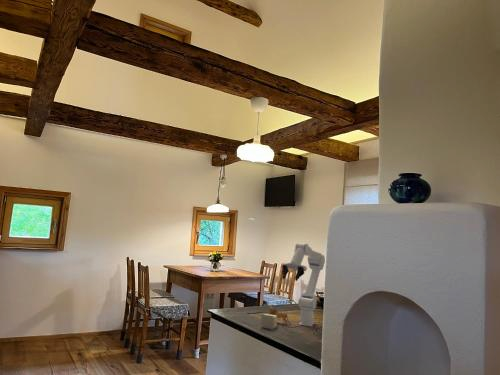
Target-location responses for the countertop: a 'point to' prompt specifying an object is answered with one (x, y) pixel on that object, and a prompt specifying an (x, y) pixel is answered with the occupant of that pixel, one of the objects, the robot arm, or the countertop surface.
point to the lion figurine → (278, 314)
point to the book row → (268, 321)
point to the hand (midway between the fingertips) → (289, 278)
